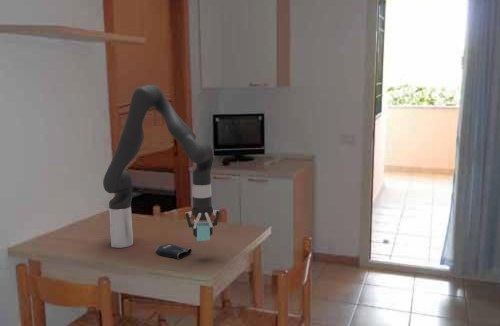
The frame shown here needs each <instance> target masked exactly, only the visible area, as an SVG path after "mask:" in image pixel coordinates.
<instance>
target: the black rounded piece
mask: <svg viewBox="0 0 500 326" xmlns="http://www.w3.org/2000/svg"><path fill="white" fill-rule="evenodd" d="M155 252H156V253H157V254H158V255H160V256H163V257H167V258H172V259H178V260H180V259H183V258H185V257H186V256H188V255H191V254H192V252H193V251H192V248H191V247H189V248H186V247H181V246H179V245H176V244H173V243H164V244H159V245H158V246H157V247H156V249H155ZM180 254H182V255H180Z"/></svg>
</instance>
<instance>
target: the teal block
mask: <svg viewBox="0 0 500 326" xmlns="http://www.w3.org/2000/svg"><path fill="white" fill-rule="evenodd" d="M196 228H197V237H195V238H196V241H197V242H200V241H201V242H204V241H210V240H211V236H210V225H209V223H208V221H202V222H200V221H199V222H198V224H197V227H196Z"/></svg>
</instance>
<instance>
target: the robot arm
mask: <svg viewBox="0 0 500 326" xmlns="http://www.w3.org/2000/svg"><path fill="white" fill-rule="evenodd" d="M130 99H131V101H130V105H129V109H128V112H127V117H126V119H125V123H124V126H123V128H122V131H121V134H120V137H119V139H118V143H117V146H116V149H115V151H114V154H113V156H112V159H111V162H110V164H109V165H108V168H107V170H106V172H105V174H104V176H103V181H102V185H103V188H104V189H103V190H105V192H106V193H108V194H115V196H113V198H112V199H110V200H109V202H108V208H109V209H108V211H109V223H110V225H109V231H110V233H109V234H110V246H111V248H115V249H116V248H117V249H120V248H121V249H122V248H128V247H131V246H132V245H134V236H133V220H132V219H133V218H132V201H133V181H132V176H131V174H130V172H129V171H128V170H126V168H127V166H128V165H129V164H130V163H131V162H132V161H133V160H134V159H135V158H136V157H137V155H138V154H139V152H140V150H141V148H142V145H143V142H144V139H145V131H144V125H143V124H144V120H145V117H146V116H147V115H146V114H147V112H148V111H149V110H151V109H155V110H156V111H157V112H158V113H159V114H160V115H161V117H162V118H163V120H164V122H165V125H166V127H167V130H168V132H169V133H170V135H171V136H172V137H173V138H174V139H175V141H177V143H178V144H179V145H180V146H181V147H182V150H183V151H184V153H185V155H186V156H187V158H188V159H189V160H190V161H191V162H192V163H194V164H196V167H195V168H194V170H192V192H191V194H192V195H191V196H192V209H191V211H190V210H189V211H185V212H184V214H185V218H186V221H187V225H188V228H192V234H193V237H195V238H196V237H197V228H196V227H197V224H198V223H199V222H200V221H206V222H208V223H209V225H210V237H212V236H213V227H214V226H215V227H217V225H218V222H219V218H220V210H219V209H213V201H212V195H213V193H212V183H211V180H212V178H211V177H212V175H211V173H212V172H211V171H212V168H213V162H214V152H213V148H212V146H211V145H209V144H208V143H201V144H199V143H198V142H197V141H196V138H197V136H196V134H195V132H194V131H193V130H192V129H191V128H190V127H189V126H188V124H186V123H185V121H184V120H183V119H182V118H181V117H180V116H179V115H178V113H177V112H176V110H175V108H174V107H173V106H172V104H171V103H170V101H169V100H168V98H167V97H166V95H165V94H164V93H163V91H162V89H160V87H158V85H154V84H146V85H142V86H139V87H137V88H135V89H134V91H133V92H132V96H131V98H130ZM212 214H213V216H214V218H213V221H211V216H212ZM192 215H193V216H194V220H193V223H192V221H191V218H192Z"/></svg>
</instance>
